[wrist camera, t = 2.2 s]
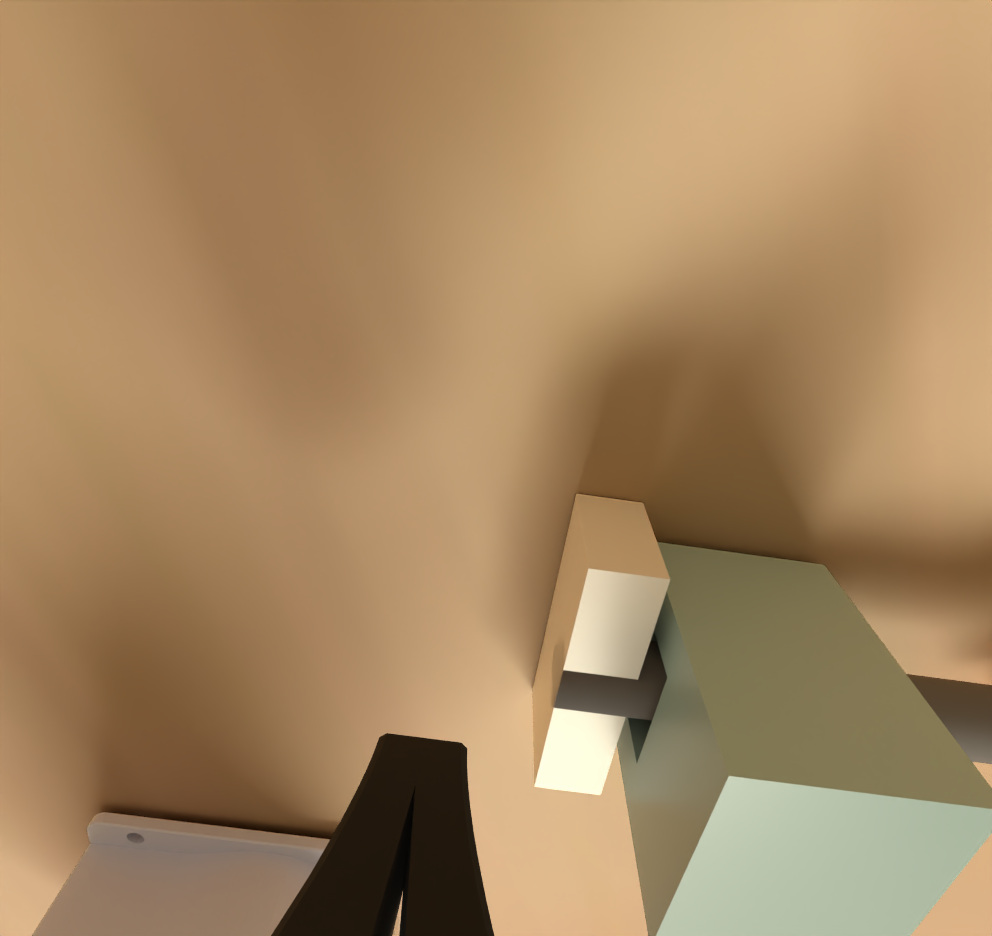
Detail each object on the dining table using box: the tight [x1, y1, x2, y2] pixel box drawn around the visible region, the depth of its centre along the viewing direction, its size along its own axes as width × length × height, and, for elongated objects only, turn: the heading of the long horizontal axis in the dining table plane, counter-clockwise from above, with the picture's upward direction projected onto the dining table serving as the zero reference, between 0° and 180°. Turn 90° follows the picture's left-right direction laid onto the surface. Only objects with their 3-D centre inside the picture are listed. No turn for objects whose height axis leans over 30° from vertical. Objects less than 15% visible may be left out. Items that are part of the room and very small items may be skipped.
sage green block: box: [617, 542, 992, 936], centre depth 12 cm, size 4×4×6 cm
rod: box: [550, 641, 992, 764], centre depth 13 cm, size 13×3×3 cm, turn 82°
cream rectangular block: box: [532, 494, 670, 795], centre depth 14 cm, size 2×6×3 cm, turn 173°
